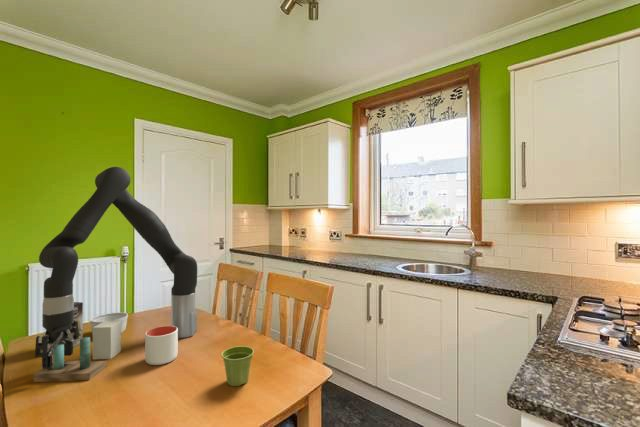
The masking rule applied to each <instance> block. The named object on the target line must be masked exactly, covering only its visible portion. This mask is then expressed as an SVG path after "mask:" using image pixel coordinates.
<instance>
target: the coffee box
mask: <svg viewBox="0 0 640 427" xmlns="http://www.w3.org/2000/svg"><path fill="white" fill-rule="evenodd" d="M83 304H84V302H80V301H74V321H78V336H79V337H78V339H75V341H74V343H73V348H75V347H77V346H80V339H81V338H83V334H84V333H83V332H84V331H83V330H84V329H83V328H84V326H83V320H84V319H83V316H84V315H83V313H84V312H83V310H84V307H83V306H84V305H83ZM72 335H74V332H72ZM59 344H66V343H64V342H63V341H61V342H60V343H59ZM59 344H58V345H59ZM48 345H52V344H50V343H48ZM49 349H50V348H48V349H47V352H48V351H49Z"/></svg>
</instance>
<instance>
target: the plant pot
mask: <svg viewBox="0 0 640 427" xmlns="http://www.w3.org/2000/svg"><path fill="white" fill-rule="evenodd" d="M254 354H255V350H254V348H253V347H250V346H246V345H237V346H231V347H228V348H226V349H225V350H223V351H222V352H221V358H222V359H223V362H224V369H225V376H226V382H227V384H228V385H229V386H232V387H240V386H241V385H245V384H246V383H247V382H248V381H249V376H250V375H249V374H250V368H251V363H252V358H253V355H254Z"/></svg>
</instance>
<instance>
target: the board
mask: <svg viewBox="0 0 640 427" xmlns="http://www.w3.org/2000/svg"><path fill="white" fill-rule="evenodd" d="M79 361H80V363H78V364H77V365H75V366H74V367H72V368H71V369H69V370H68V371H66V372H65V373H63V374H62V381H61V382H68V381H70V382H71V381H90V380H92V379H93V378H94V377H95V376H97V375H98V374H100V373H101V372H102V371H103V370H104V369H106V368H107V361H106V360H97V361H96V360H95V361H94V360H93V361H91V337H90V336H85V337H82V338H81V339H80V345H79Z"/></svg>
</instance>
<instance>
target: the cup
mask: <svg viewBox="0 0 640 427" xmlns="http://www.w3.org/2000/svg"><path fill="white" fill-rule="evenodd" d="M144 338H145V339H144V345H145V346H144V347H145V348H144V357H145V358H144V361H145V362H146V363H147V364H148V365H151V366H161V365H165V364H166V365H167V364H168V363H170V362H172V361H174V360H176V358H177V356H178V352H179V351H178V350H179V347H178V345H179V344H178V343H179V342H178V340H179V338H178V328H177V327H174V326H171V325H163V326H157V327H153V328H151V329H149V330H147V331H146V332H145V334H144Z"/></svg>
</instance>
